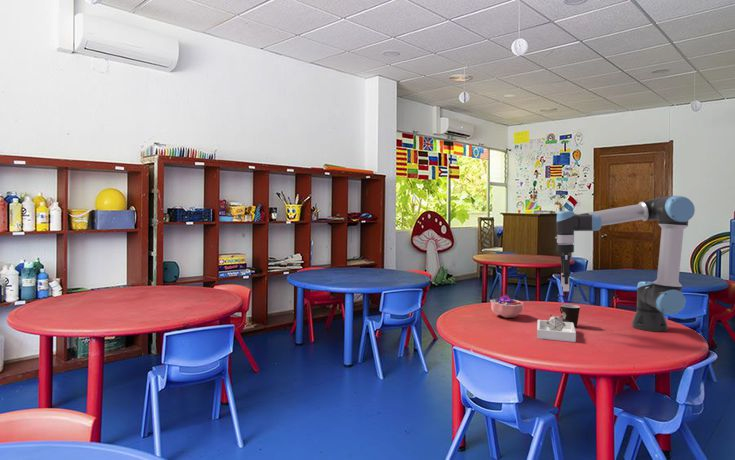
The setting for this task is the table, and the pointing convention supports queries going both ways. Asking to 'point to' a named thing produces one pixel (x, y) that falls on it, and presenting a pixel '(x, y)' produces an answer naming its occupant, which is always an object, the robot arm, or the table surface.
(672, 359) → the table surface
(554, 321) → the game die
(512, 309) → the cell model
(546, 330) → the sorting tray
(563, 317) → the coffee mug
